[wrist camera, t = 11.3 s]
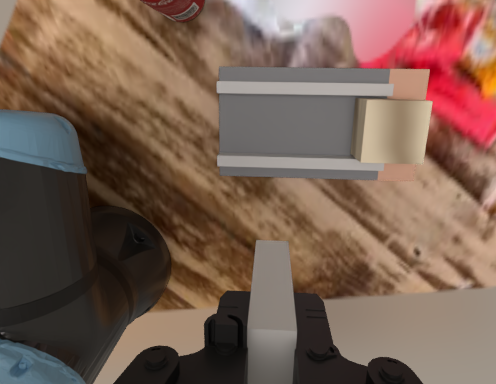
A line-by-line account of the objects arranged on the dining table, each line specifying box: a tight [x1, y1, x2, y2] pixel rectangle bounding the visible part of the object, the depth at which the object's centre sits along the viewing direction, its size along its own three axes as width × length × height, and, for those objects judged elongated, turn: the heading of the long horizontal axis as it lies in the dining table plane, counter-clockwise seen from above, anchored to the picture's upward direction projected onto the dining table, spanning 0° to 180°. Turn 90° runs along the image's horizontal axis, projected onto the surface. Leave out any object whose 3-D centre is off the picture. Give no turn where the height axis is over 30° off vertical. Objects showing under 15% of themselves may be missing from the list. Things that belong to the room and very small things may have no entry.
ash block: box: [350, 98, 433, 164], centre depth 38 cm, size 6×6×5 cm
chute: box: [217, 67, 430, 181], centre depth 40 cm, size 22×12×3 cm, turn 89°
